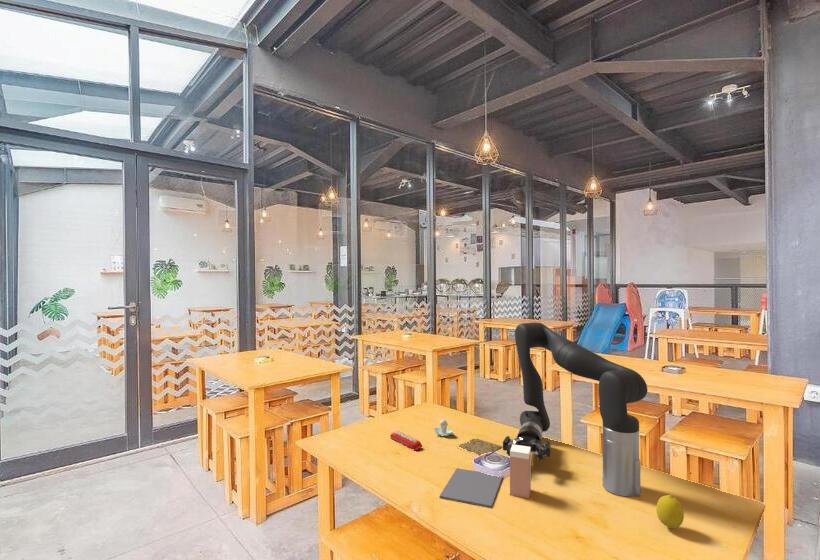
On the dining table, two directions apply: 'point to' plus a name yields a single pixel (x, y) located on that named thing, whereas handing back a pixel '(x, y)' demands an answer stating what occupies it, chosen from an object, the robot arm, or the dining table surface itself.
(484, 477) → the mat
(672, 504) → the lemon
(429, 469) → the dining table surface
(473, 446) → the mottled brown square tile
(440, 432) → the pacifier
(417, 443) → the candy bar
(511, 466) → the block
